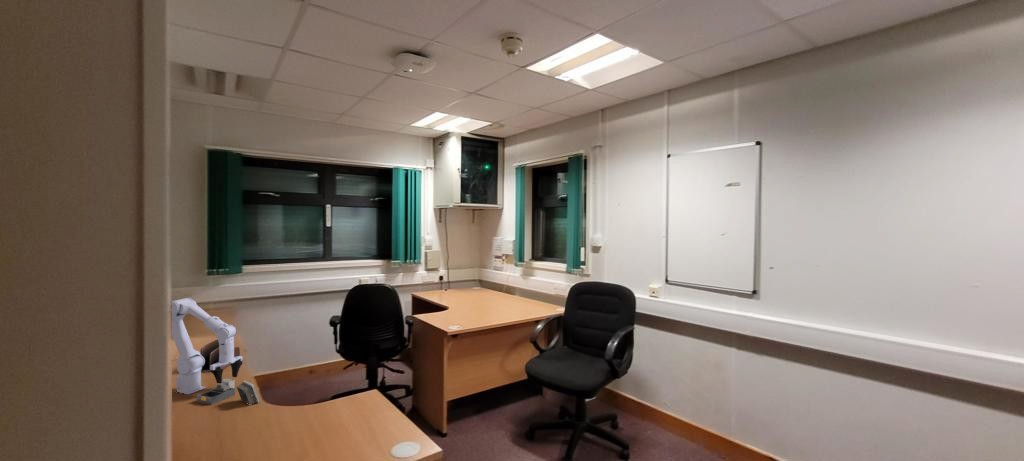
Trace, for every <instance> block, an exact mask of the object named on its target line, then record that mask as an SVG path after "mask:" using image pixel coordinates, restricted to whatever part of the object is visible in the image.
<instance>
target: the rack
mask: <svg viewBox="0 0 1024 461" xmlns="http://www.w3.org/2000/svg"><path fill="white" fill-rule="evenodd" d="M235 388H236V387H235ZM235 388H230V386H227V385H221V384H220V385H219V384H218V385H215V386H213V389H210V390H208V391H205V392H203V393H199V394H197V395H196V403H200V404H205V405H209V406H211V405H215V404H217V403H219V402H222V401H224V400H225V399H226V400H227V399H228V398H230V397H233V396H235V395H236V389H235Z"/></svg>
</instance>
